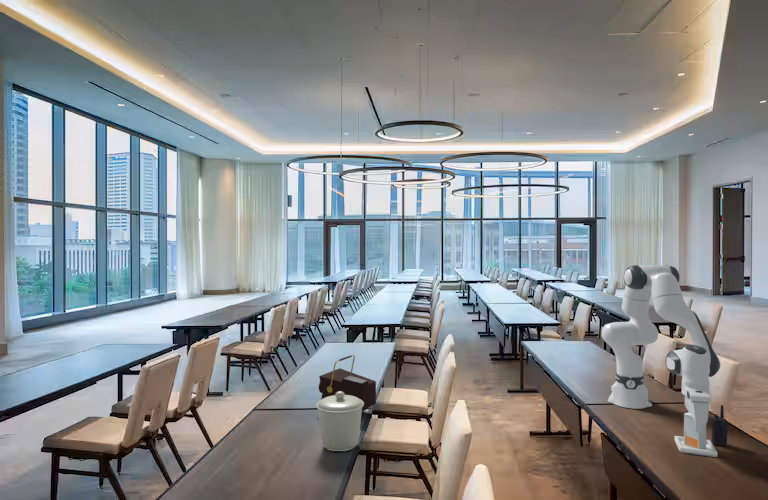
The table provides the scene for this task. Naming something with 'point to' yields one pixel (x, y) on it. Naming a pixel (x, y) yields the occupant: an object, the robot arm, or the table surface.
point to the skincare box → (693, 433)
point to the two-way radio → (719, 429)
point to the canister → (340, 420)
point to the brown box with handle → (348, 385)
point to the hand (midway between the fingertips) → (695, 427)
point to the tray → (686, 449)
